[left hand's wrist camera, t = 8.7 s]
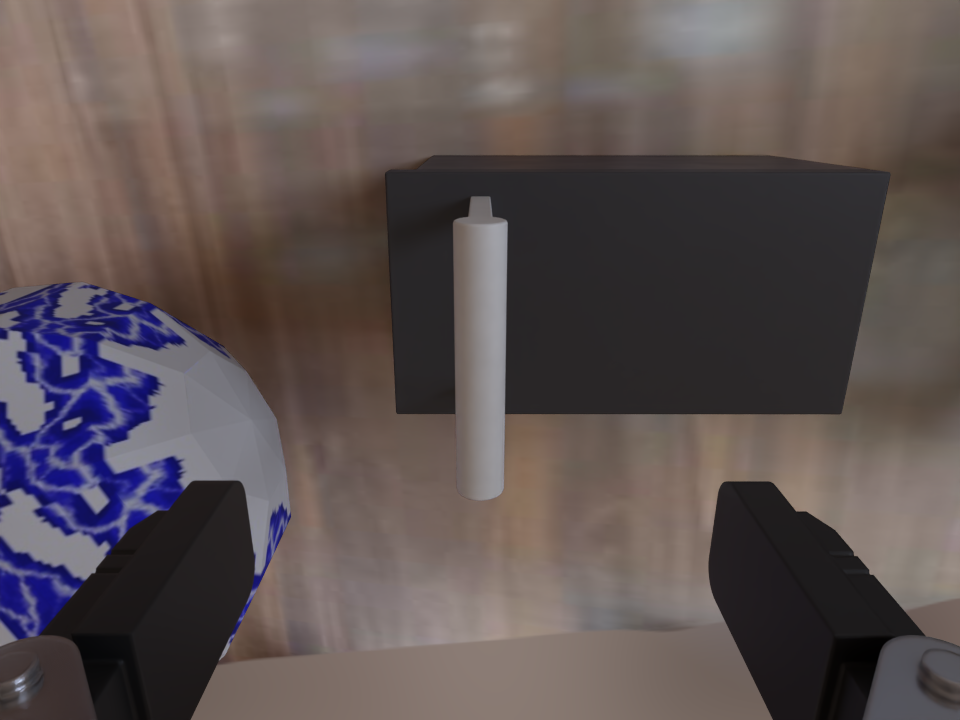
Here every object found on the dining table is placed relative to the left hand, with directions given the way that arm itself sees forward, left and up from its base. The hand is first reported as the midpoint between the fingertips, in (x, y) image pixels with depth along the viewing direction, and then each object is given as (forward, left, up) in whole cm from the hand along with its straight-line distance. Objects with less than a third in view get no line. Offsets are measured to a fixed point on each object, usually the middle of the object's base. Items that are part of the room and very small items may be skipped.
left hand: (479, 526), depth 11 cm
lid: (+6, -1, -16) cm, 17 cm away
